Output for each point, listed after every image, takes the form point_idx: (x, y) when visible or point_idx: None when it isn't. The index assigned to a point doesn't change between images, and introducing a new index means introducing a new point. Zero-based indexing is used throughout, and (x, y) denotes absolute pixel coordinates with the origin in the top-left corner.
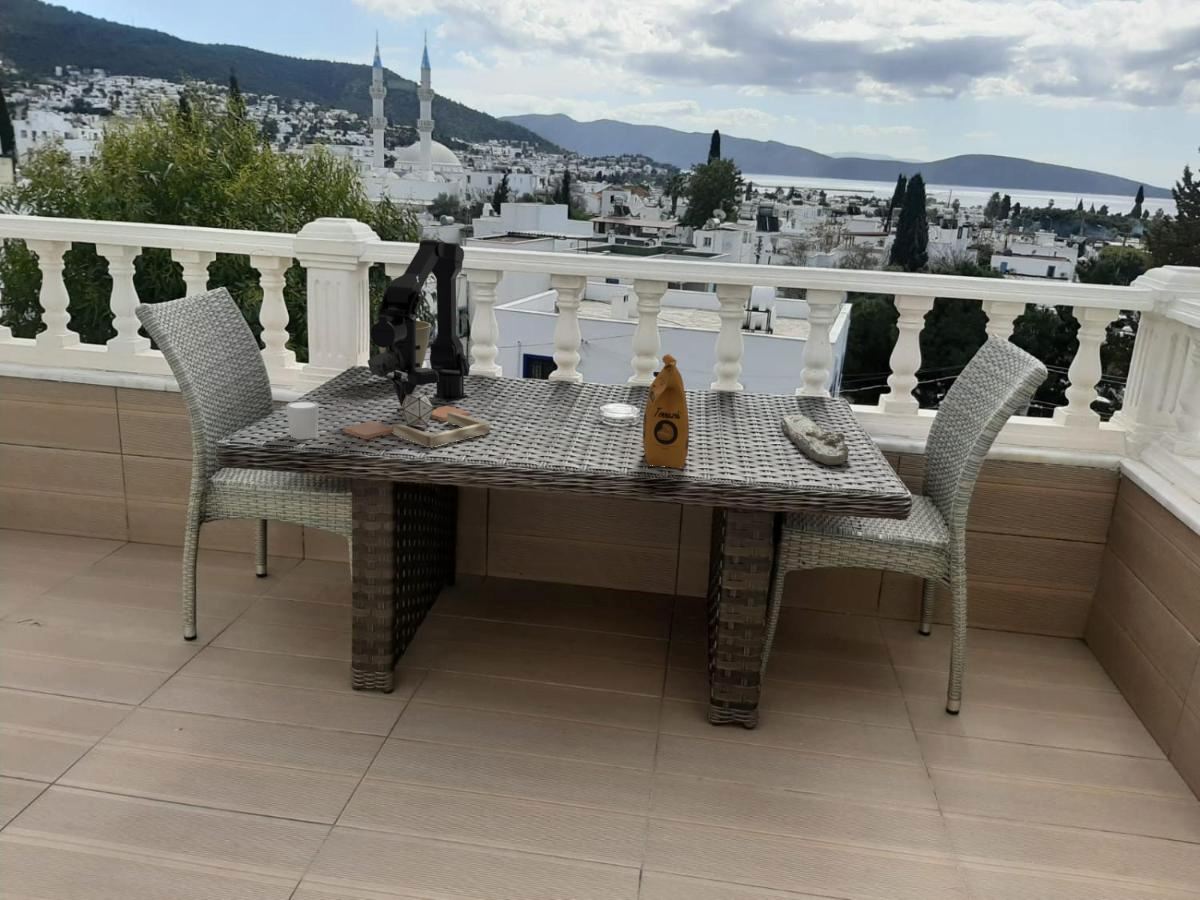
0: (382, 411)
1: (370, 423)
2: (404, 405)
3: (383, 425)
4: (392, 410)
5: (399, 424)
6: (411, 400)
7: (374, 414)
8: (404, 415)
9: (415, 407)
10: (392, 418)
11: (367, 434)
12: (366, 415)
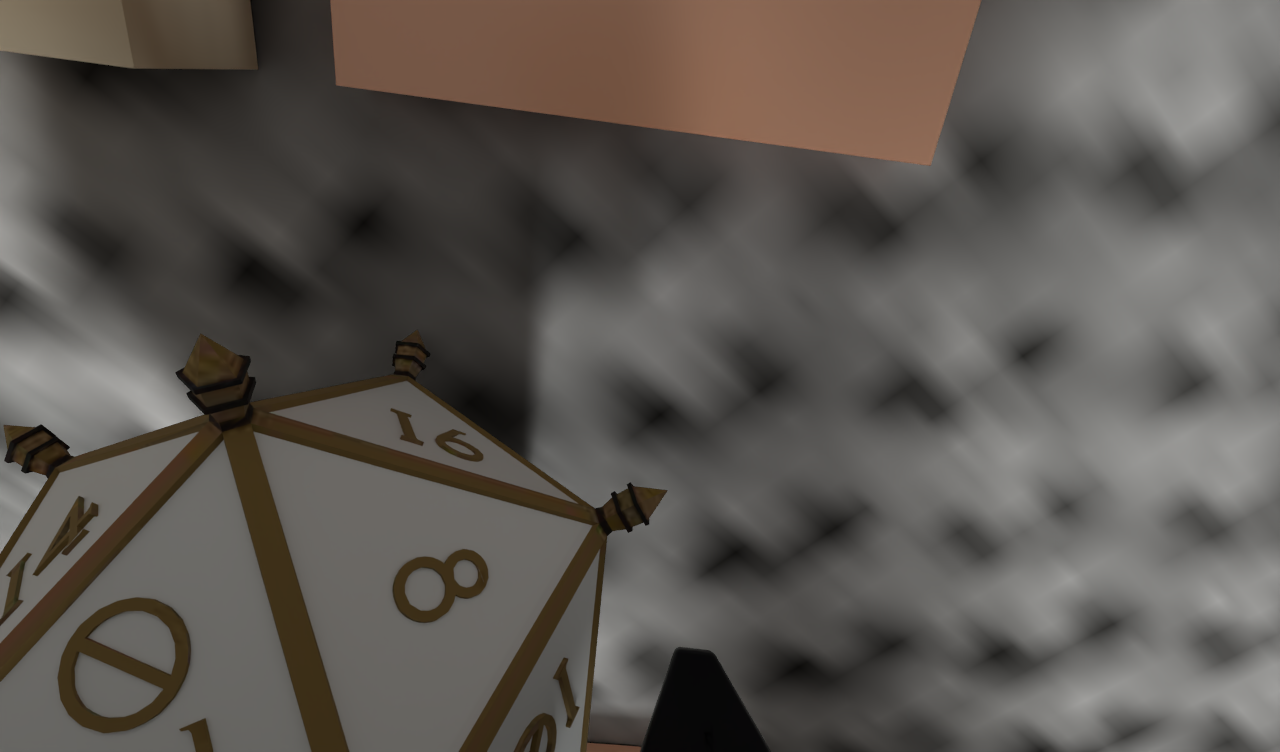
0: (1157, 634)
1: (878, 20)
2: (236, 529)
3: (617, 92)
4: (1078, 705)
5: (54, 17)
6: (82, 743)
7: (1182, 517)
8: (323, 390)
9: (9, 593)
10: (895, 532)
11: None
12: (1257, 435)
